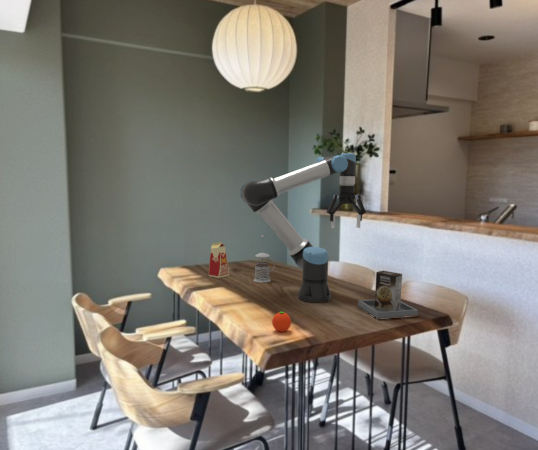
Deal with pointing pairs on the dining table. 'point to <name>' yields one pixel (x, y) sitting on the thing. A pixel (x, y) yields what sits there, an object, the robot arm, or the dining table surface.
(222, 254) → the milk carton
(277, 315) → the clementine
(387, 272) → the coffee box
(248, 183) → the robot arm
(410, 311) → the tray
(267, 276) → the french press
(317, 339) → the dining table surface
